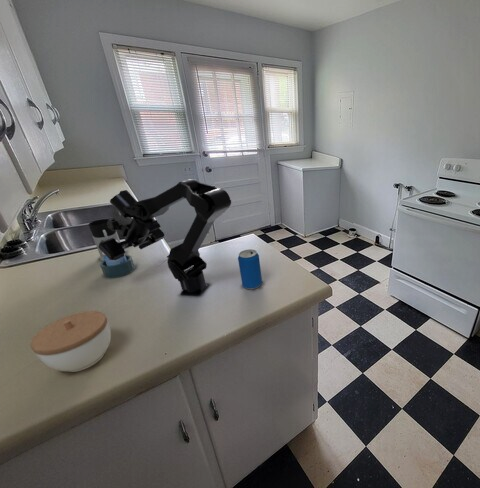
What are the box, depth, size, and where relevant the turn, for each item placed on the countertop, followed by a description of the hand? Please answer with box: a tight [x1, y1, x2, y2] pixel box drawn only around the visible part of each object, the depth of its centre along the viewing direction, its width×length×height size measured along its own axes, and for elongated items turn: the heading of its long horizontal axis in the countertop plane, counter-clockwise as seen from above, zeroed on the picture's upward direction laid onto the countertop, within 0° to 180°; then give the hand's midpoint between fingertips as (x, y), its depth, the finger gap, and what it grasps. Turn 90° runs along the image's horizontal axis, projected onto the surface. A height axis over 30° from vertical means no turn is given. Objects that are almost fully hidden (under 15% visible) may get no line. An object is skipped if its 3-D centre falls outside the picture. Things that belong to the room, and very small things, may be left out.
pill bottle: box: [102, 240, 127, 266], centre depth 98 cm, size 6×6×11 cm
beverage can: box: [237, 248, 263, 290], centre depth 88 cm, size 6×6×12 cm
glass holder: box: [87, 218, 127, 262], centre depth 108 cm, size 9×14×15 cm, turn 42°
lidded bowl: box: [29, 310, 112, 373], centre depth 61 cm, size 13×13×11 cm
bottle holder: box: [99, 254, 136, 279], centre depth 100 cm, size 9×9×4 cm
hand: (127, 253), depth 94 cm, fingers open, 9 cm apart
